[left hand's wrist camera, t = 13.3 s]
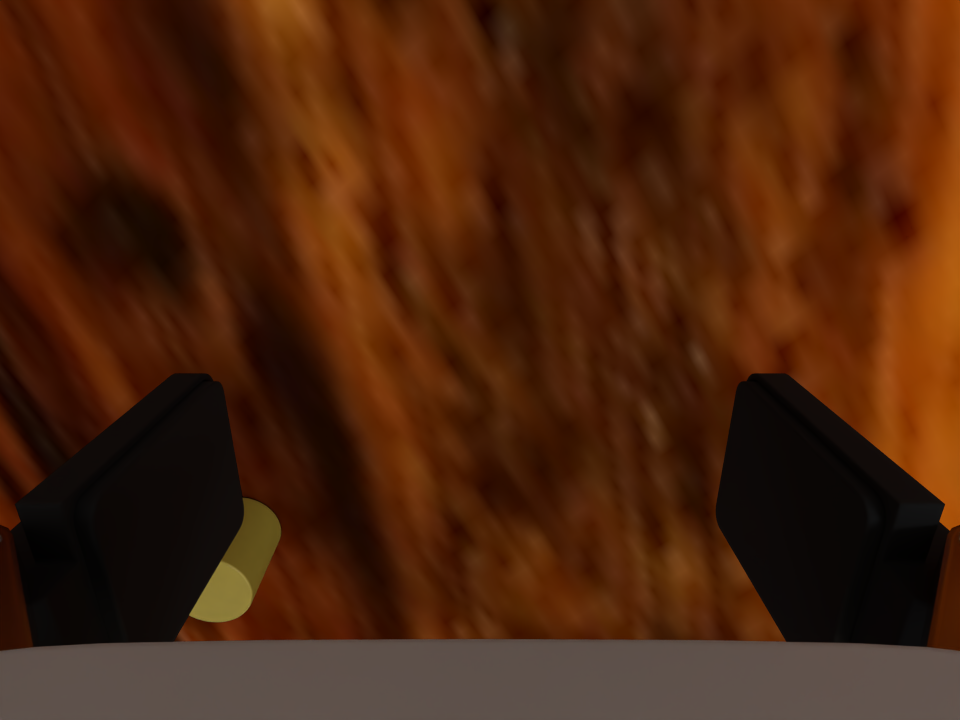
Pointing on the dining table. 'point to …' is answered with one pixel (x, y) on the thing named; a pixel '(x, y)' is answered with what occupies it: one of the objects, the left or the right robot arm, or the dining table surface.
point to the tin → (240, 566)
